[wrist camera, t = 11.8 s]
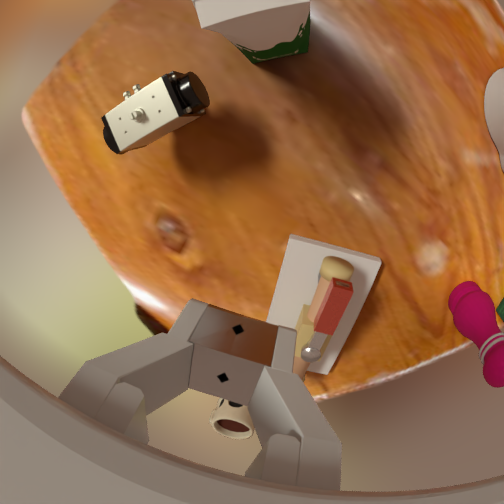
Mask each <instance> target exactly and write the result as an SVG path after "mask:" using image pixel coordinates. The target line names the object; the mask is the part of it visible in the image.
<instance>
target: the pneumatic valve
mask: <svg viewBox="0 0 504 504" xmlns="http://www.w3.org/2000/svg"><path fill="white" fill-rule="evenodd" d="M133 90H134V92H135V94H134V95H132V96H131V95H130V92H129V91H126V92H124V93H123V96H124V97H125V101H123V102H122V103H121V104H119V105H118V106H116V107H115V108H114V109H112V110H111V111H109V112H108V113H107V114H105V115H104V116H103V117H102V121H103V123H104V126H105V127H104V129H103V135H104V139H105V142H106V144H107V145H108V147H109V148H110V149H111V150H112V151H113V152H115V153H116V154H124V153H126V152H128V151H130V150H134V149H138V148H142V147H145V146H147V145H149V144H150V143H152V142H154V141H156V140H157V139H159V138H161V137H163V136H164V135H166V134H168V133H170V132H172V131H174V130H176V129H178V128H180V127H182V126H184V125H186V124H188V123H190V122H191V121H193V120H195V119H197V118H199V117H201V116H203V115H205V114H206V113H205V109H204V108H206V107H208V106H209V105H210V100H209V96H208V93H207V91H206V88H205V87H204V85H203V83H202V82H201V80H200V79H199V78H198V76H197V75H196V74H194V73H193V72H188V73H186V74H183V73H179V72H175V71H172V72H170V73H169V74H165V75H163V76H162V77H160V78H159V79H157V80H155V81H154V82H152V83H150V84H149V85H147V86H146V87H144V88H143V89H141V88H140V85H139V84H137V85H135V86H133Z"/></svg>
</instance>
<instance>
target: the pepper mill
mask: <svg viewBox="0 0 504 504" xmlns="http://www.w3.org/2000/svg"><path fill="white" fill-rule="evenodd" d="M448 306H449V309H450V310H451V312H452V314H453V320H454V324H455V326H456V328H457V329H458V331H459V332H460V333H461V334H462V335H463V336H465V337H467V338H469V339H470V340H472V341H473V342H474V343H475V344H476V345H477V347H478V348H479V358H480V360H481V362H482V364H483V365H484V366H483V375H484V378H485V380H486V382H487V383H488V384H489V385H491V386H493V387H503V386H504V333H502V332H501V331H500V329H499V327H498V325H497V322H496V314H495V307H494V303H493V301H492V299H491V297H490V296H489V295H488V294H487V293H486V292H483V291H482V290H481V289H480V288H479V286H478V285H477V284H476V283H475V282H472V281H466V282H463V283H461V284H459V285H458V286H457V287H456V288H455V289H454V290H453V291H452V293H451V295H450V297H449V301H448Z"/></svg>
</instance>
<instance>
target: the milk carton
mask: <svg viewBox="0 0 504 504" xmlns="http://www.w3.org/2000/svg"><path fill="white" fill-rule="evenodd" d="M192 1H193V4H194V7H195V9H196V11H197V14H198V18H199V21H200V25H201V28H202V29H207V30H211V31H215V32H219V33H221V34H222V35H223V36H225V37H226V38H227V39H228V40H229V41H230V42H232V43H233V44H234V45H235V46H236V47H237V48H238V49H239V50H240V51H241V52H242V53H243V54H244V55H245V56H246V57H247V58H248V59H249V60H250V61H251V62H252V64H254V63H258V62H262V61H266V60H271V59H275V58H280V57H285V56H290V55H295V54H301V53H306V52H308V45H309V34H310V0H192Z"/></svg>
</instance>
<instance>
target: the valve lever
mask: <svg viewBox="0 0 504 504" xmlns="http://www.w3.org/2000/svg"><path fill="white" fill-rule="evenodd" d="M353 292H354V291H353V286H352V282H349V281H345V280H342V279H338V278H334V277H332V279H331V282H330V284H329V286H328V289H327V291H326V294H325V296H324V298H323V301H322V303H321V305H320V308H319V310H318V312H317V315H316V317H315V319H314V332H313V334H312V336H311V338H310V340H309V343H308V344H305V345H304V346H303V347H302V348H301V358H302V359H303V360H304V361H306V362H316V361H318V360H319V359H320V357H321V347H322V345H323V343H324V341H325V339H326V337H327V335H332V336H333V334H334V332H335V330H336V328H337V326H338V324H339V322H340V320H341V318H342V316H343V314H344V311H345V309H346V307H347V305H348V303H349V301H350V299H351V297H352V295H353Z"/></svg>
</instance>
